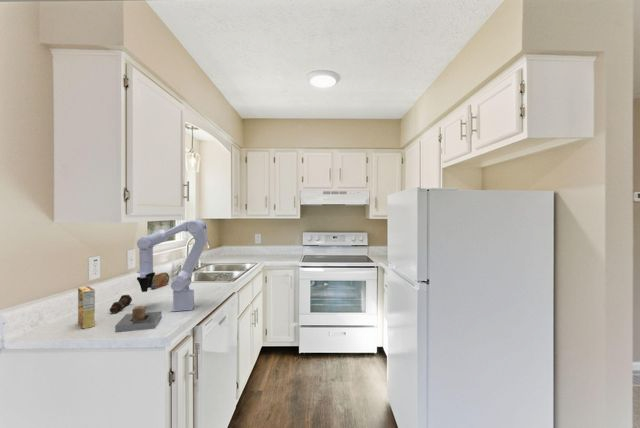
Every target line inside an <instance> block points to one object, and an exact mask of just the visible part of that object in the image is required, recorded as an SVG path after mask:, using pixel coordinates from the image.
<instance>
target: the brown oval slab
mask: <svg viewBox="0 0 640 428" xmlns="http://www.w3.org/2000/svg"><path fill="white" fill-rule="evenodd" d="M169 282H170V275H169V273H168V272H159V273H157V274H156V273H155V275H154V277H153V280H152V285H151V288H150V289H152V290H158V289H159V288H162V287H166V286H167V285H168V284H169Z"/></svg>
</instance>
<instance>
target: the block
mask: <svg viewBox="0 0 640 428" xmlns="http://www.w3.org/2000/svg"><path fill="white" fill-rule="evenodd" d="M146 307H147V306H146V305H137V306H134V307H133V308H132V313H131V314H132V321H138V320H146V313H147V312H146Z"/></svg>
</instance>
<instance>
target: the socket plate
mask: <svg viewBox="0 0 640 428" xmlns="http://www.w3.org/2000/svg"><path fill="white" fill-rule="evenodd" d="M162 314H163V313H162V310H160V311H150V312H146V320H138V321H132V313H127V314H125V315H124V316H123V317H122V318H121V319H120V320H119V321H118V322H117V323H116V325H115V326H114V327H115V330H114V331H115V333H118V332H119V333H120V332H131V331H141V330H150V329H156V327H157V326H158V323H159V322H160V320H161V319H162V317H163V316H162Z"/></svg>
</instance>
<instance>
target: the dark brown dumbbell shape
mask: <svg viewBox="0 0 640 428" xmlns="http://www.w3.org/2000/svg"><path fill="white" fill-rule="evenodd" d="M132 301H133V299H132V296H131V295H130V294H123V295H121V296H120V298H119V300H118V301H114V302H113V303H112V304H111V307H110V308H109V312H110V313H111V314H115V313H117V312H121V311H122V310H123V308H124V306H129V305H130V304H131V302H132Z"/></svg>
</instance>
